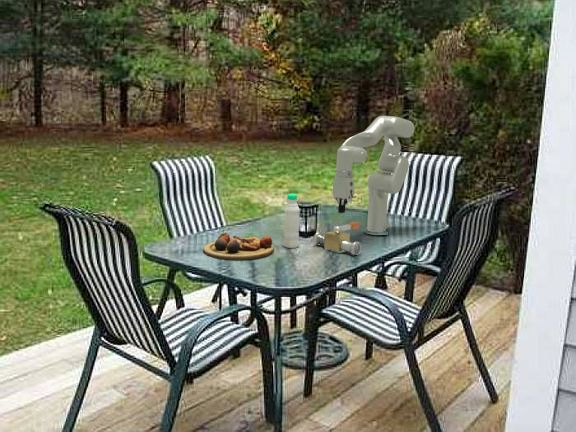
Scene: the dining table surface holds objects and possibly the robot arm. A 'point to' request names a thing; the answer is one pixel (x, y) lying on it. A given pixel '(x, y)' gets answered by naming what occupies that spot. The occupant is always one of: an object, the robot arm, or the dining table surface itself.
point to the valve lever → (346, 227)
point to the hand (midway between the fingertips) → (341, 212)
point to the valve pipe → (337, 242)
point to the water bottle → (291, 222)
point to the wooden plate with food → (239, 247)
